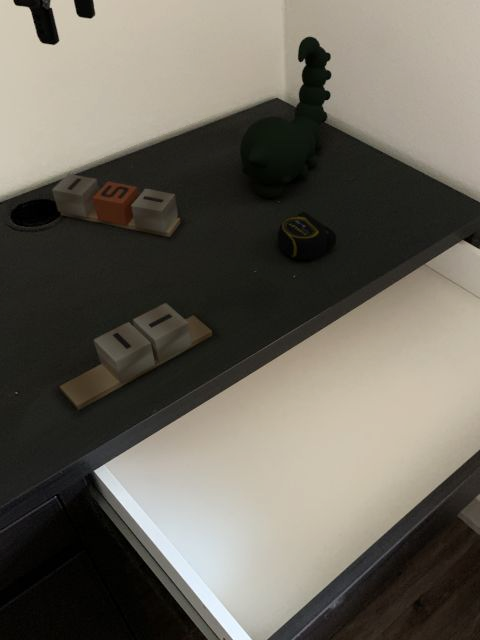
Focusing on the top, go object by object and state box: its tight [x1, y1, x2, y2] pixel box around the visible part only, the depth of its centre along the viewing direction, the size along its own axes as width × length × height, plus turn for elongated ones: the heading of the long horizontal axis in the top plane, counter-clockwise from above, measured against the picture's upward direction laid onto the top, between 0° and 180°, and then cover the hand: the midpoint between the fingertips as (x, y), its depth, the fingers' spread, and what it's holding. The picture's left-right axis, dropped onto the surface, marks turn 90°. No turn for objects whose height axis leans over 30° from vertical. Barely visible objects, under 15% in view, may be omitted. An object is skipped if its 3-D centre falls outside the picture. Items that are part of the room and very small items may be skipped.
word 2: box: [59, 302, 213, 411], centre depth 74 cm, size 18×4×4 cm, turn 132°
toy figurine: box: [239, 36, 332, 200], centre depth 97 cm, size 9×19×25 cm
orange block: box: [93, 181, 140, 225], centre depth 93 cm, size 4×4×4 cm
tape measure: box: [277, 211, 337, 261], centre depth 90 cm, size 7×7×4 cm
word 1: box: [51, 173, 182, 238], centre depth 93 cm, size 17×4×4 cm, turn 73°
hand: (68, 29), depth 79 cm, fingers open, 8 cm apart
